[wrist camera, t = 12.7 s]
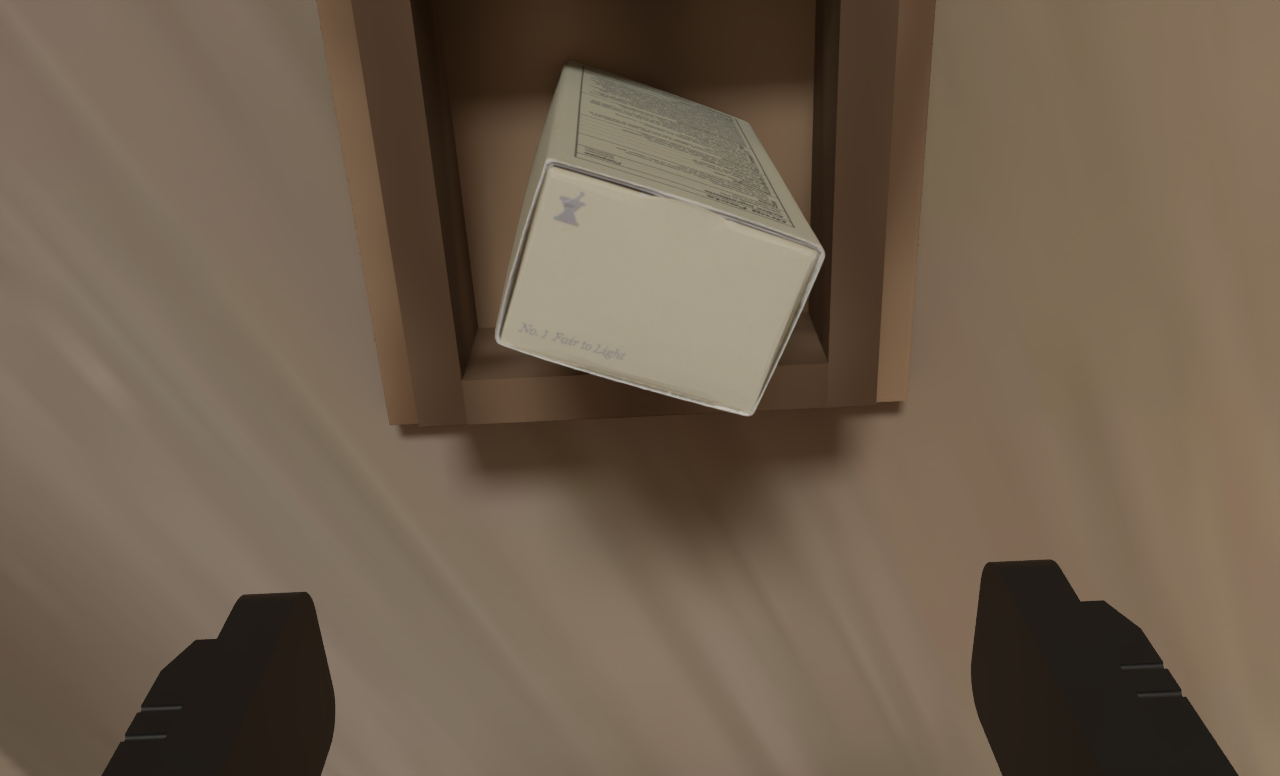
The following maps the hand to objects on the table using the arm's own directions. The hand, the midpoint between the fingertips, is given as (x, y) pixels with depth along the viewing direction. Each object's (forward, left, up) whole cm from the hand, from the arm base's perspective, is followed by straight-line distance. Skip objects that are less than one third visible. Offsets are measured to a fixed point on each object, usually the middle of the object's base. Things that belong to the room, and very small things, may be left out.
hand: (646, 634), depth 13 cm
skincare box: (0, 0, -23) cm, 23 cm away
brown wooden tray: (0, 0, -24) cm, 24 cm away
